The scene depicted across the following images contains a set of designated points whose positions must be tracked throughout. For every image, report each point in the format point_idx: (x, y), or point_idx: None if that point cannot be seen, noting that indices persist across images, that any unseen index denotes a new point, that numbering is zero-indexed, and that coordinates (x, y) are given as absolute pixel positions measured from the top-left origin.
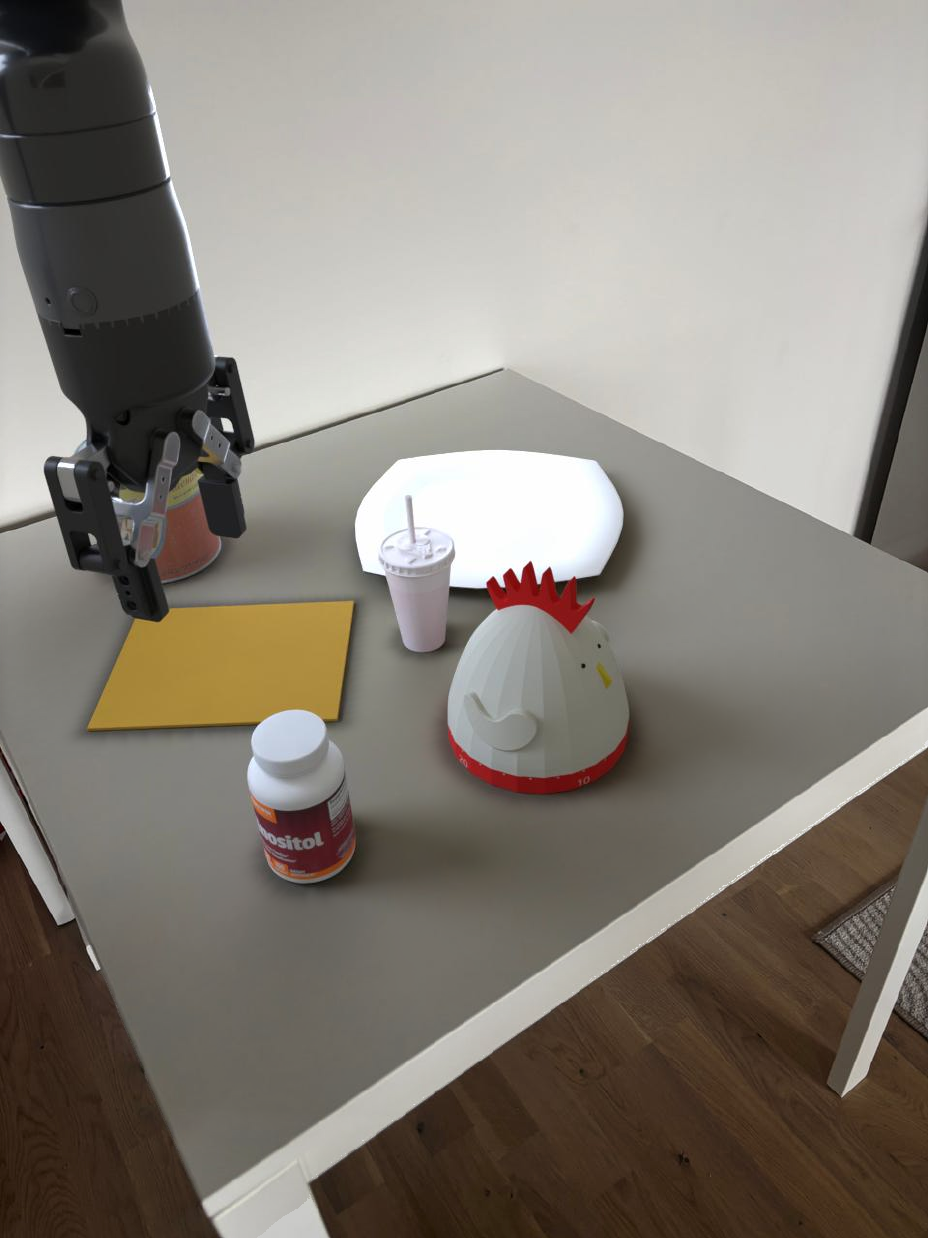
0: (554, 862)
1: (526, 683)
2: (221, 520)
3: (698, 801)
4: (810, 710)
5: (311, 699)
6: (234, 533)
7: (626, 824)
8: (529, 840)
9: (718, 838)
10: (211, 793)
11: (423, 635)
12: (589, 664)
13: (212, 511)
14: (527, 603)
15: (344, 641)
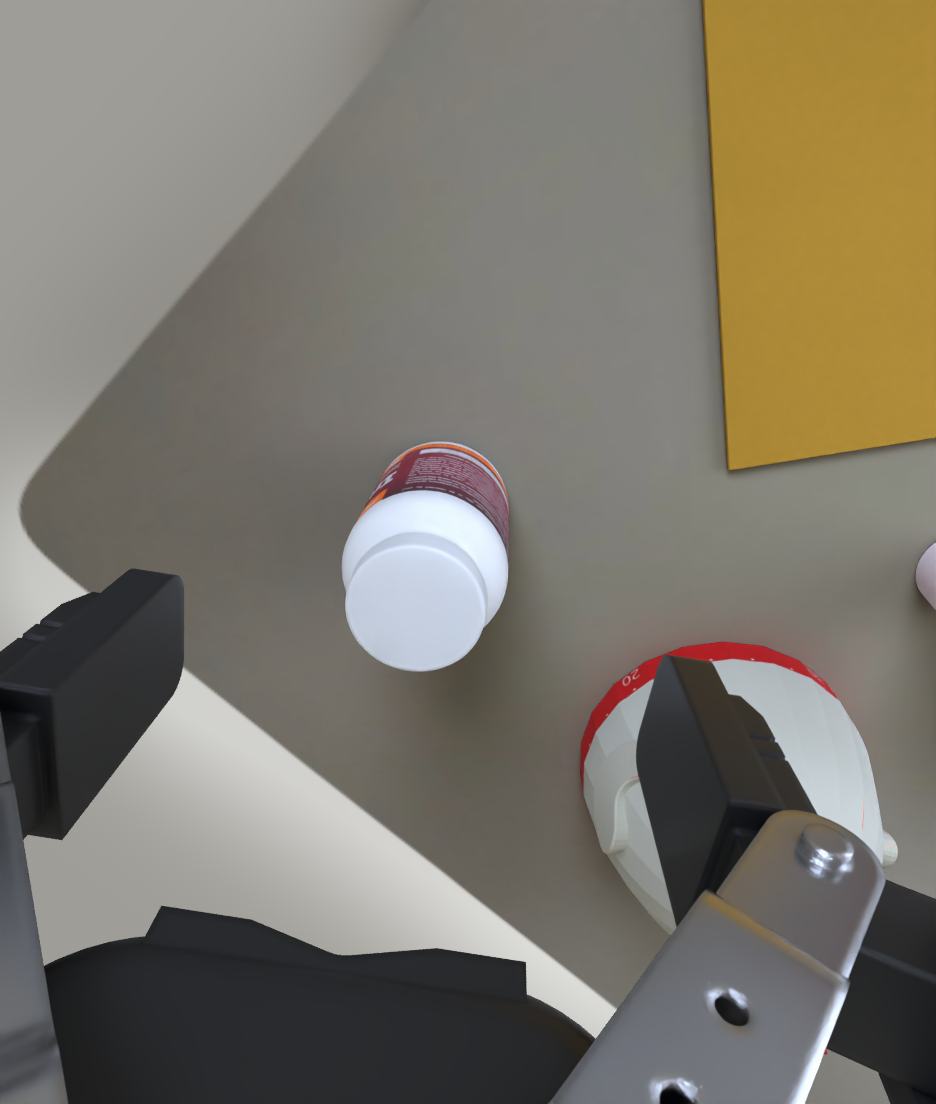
0: (470, 787)
1: (652, 876)
2: (660, 740)
3: (583, 919)
4: None
5: (783, 409)
6: (641, 744)
7: (539, 854)
8: (501, 760)
9: (528, 932)
10: (540, 299)
11: (933, 596)
12: None
13: (676, 736)
14: None
15: None
